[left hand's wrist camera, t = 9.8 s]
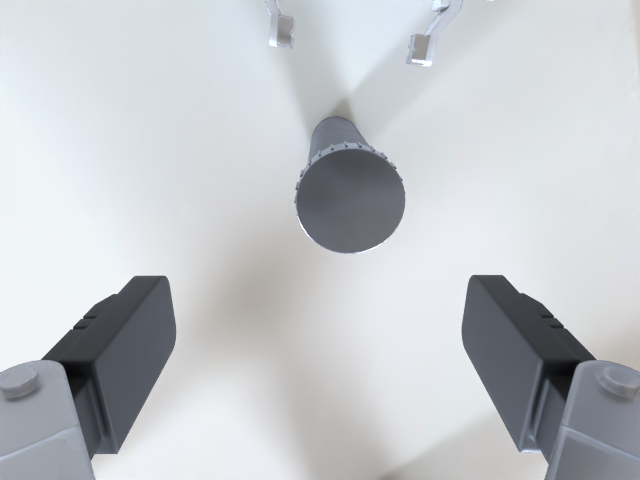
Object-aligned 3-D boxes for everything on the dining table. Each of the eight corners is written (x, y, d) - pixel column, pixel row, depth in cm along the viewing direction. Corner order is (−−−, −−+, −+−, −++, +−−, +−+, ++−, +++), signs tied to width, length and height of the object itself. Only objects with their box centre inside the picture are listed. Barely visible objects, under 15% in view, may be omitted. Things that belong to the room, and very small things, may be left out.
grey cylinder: (369, 144, 37) (416, 205, 19) (332, 175, 38) (343, 261, 20) (338, 106, 36) (356, 132, 17) (301, 139, 37) (283, 196, 19)
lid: (421, 199, 20) (429, 209, 18) (341, 261, 21) (343, 275, 19) (355, 117, 18) (359, 121, 17) (274, 188, 20) (270, 198, 18)
